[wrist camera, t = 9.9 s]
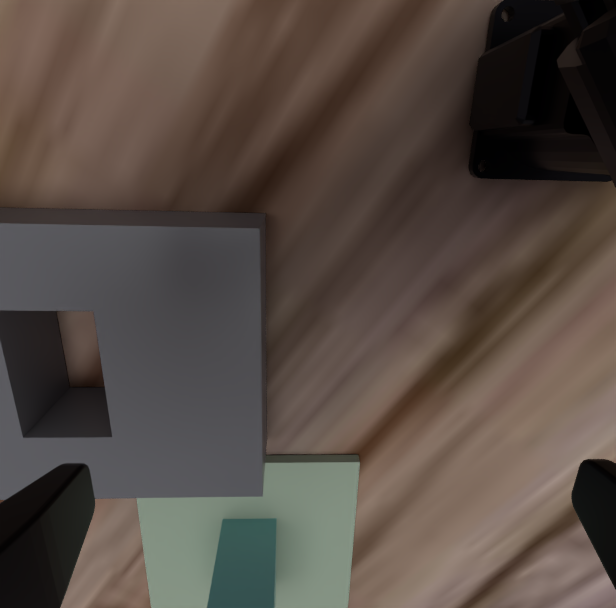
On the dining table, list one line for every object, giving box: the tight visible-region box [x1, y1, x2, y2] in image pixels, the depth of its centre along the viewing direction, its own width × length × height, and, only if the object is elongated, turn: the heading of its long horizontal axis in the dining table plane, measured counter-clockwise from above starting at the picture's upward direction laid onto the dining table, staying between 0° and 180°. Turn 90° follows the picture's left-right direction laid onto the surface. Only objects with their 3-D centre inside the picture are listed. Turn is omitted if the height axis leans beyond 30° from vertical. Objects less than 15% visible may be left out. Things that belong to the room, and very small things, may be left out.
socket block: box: [0, 207, 267, 500], centre depth 19 cm, size 16×12×4 cm
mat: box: [137, 455, 360, 608], centre depth 25 cm, size 12×12×1 cm
